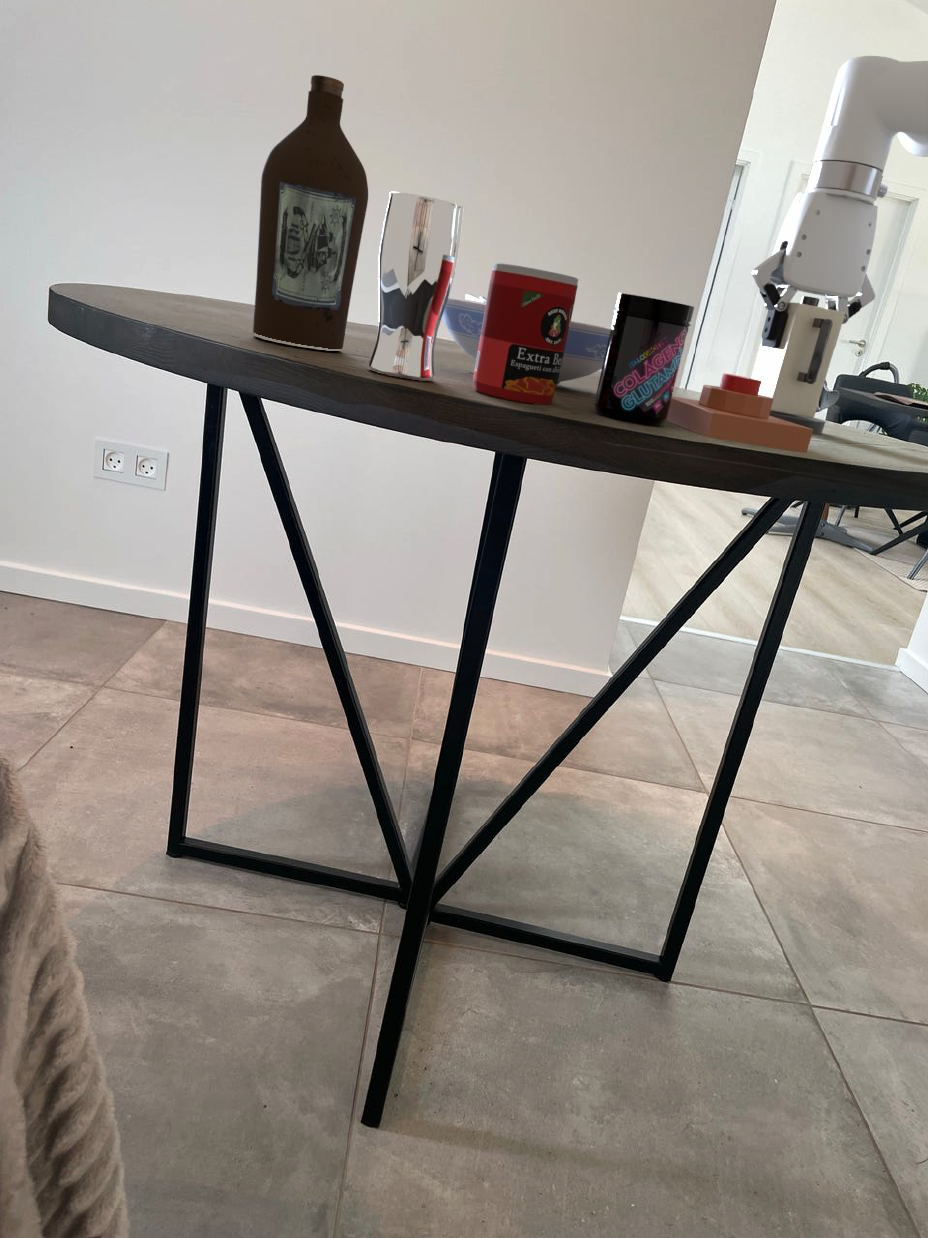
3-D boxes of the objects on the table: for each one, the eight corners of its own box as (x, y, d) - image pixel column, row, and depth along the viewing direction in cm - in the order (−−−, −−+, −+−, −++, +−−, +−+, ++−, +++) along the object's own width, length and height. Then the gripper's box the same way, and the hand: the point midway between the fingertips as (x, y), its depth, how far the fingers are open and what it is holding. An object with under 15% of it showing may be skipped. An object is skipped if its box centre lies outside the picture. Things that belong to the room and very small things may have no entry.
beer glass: (408, 372, 90) (434, 206, 85) (453, 385, 85) (483, 210, 80) (348, 365, 85) (372, 189, 81) (392, 378, 81) (420, 193, 76)
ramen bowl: (641, 410, 96) (660, 328, 93) (422, 370, 94) (436, 286, 92) (603, 387, 119) (618, 322, 117) (428, 355, 118) (439, 288, 115)
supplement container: (589, 415, 81) (616, 291, 78) (593, 409, 87) (618, 294, 84) (665, 431, 80) (696, 306, 77) (664, 424, 87) (693, 308, 83)
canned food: (507, 401, 80) (532, 267, 76) (453, 385, 86) (474, 259, 82) (571, 408, 84) (598, 281, 81) (516, 392, 90) (539, 273, 87)
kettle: (736, 400, 115) (765, 291, 111) (778, 407, 117) (809, 300, 112) (779, 413, 105) (813, 294, 101) (825, 421, 107) (861, 304, 103)
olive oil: (245, 331, 101) (269, 75, 93) (341, 347, 104) (373, 100, 96) (247, 340, 92) (275, 55, 83) (353, 357, 95) (390, 83, 86)
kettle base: (713, 410, 115) (716, 398, 115) (791, 423, 118) (794, 412, 117) (756, 425, 105) (759, 411, 105) (840, 439, 108) (844, 426, 107)
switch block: (744, 430, 95) (755, 391, 94) (806, 453, 84) (819, 409, 83) (655, 416, 93) (664, 375, 91) (707, 437, 82) (719, 391, 80)
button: (745, 396, 89) (750, 377, 89) (763, 401, 86) (769, 382, 85) (711, 390, 88) (716, 371, 88) (729, 395, 85) (734, 376, 84)
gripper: (887, 204, 109) (840, 361, 114) (756, 172, 104) (714, 337, 110) (929, 200, 102) (877, 367, 107) (791, 166, 97) (744, 342, 103)
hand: (795, 350), depth 109 cm, fingers closed on kettle, 6 cm apart
